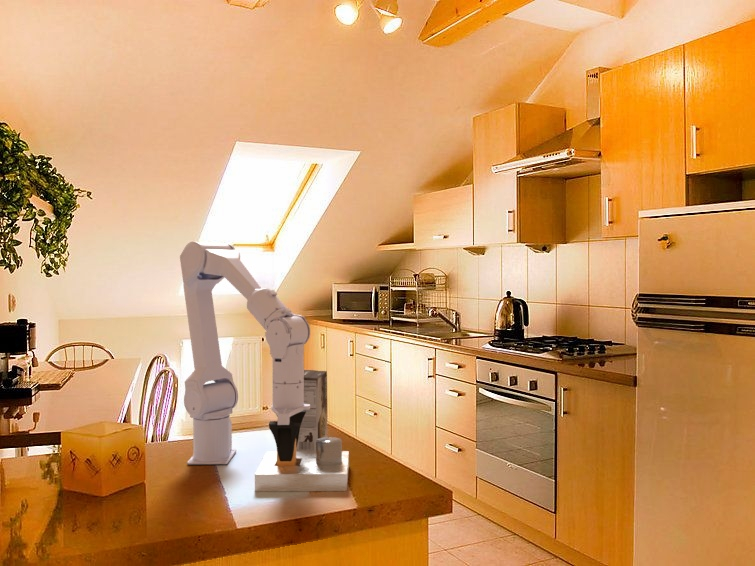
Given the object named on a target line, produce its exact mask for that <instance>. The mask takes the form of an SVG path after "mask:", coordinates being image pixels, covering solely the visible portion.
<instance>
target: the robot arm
mask: <svg viewBox="0 0 755 566" xmlns="http://www.w3.org/2000/svg"><path fill="white" fill-rule="evenodd" d="M182 250H183V251H182V252H181V253H180V255H179V261H180V268H181V276H182V283H183V293H184V299H185V309H186V314H187V315H186V316H187V323H188V330H189V337H190V345H191V353H192V360H193V366H194V367H193V369H194V370H193V372H192V373H191V374H190V375H189V376H188V377H187V378H186V380H185V381H184V389H185V390H184V397H183V405H184V408H185V411H186V412H187V413H188V414H189V418H191V419H192V441H193V444H192V445H193V447H192V448H193V449H192V450H193V454H192V455H191V457H190V459H188V460H187V462H186V464H187V465H227V464H228V463H230V461H231V460H232V458H233V457H234V455H235V454H236V452H237V449H236V448H233V440H232V438H233V435H232V432H233V431H232V430H233V427H232V425H233V424H232V420H231V416H230V415H232V414H233V409H234V408H235V407H236V406H237V404H238V401H239V392H238V388H237V386H236V385H235V382H234V378H233V374H232V372H230V371H229V370H228V369H227V368H226V367H224V366H223V365H222V357H221V352H220V351H221V350H220V343H219V342H220V341H219V335H218V328H217V327H218V326H217V320H216V313H215V307H214V299H213V293H212V291H213V289H214V288H215V286H216V285H218V284H219V283H220V282H222V281H223V279H225V280H227V282H229V283H230V284H231V285H232V286H233V287H234V288H235V289H236V290H237V291H238V292H239V293H240V294H241V295H242V296H243V297H244V298H245V299H246V300H247V301H246V309H247V311H249V313H250V314H251V315H252V317H254V319H255V320H256V321H257V322H258V324H260V325H261V327H262V328H263V329H264V330H265V332H264V335H265V340H266V343H267V344H268V346H269V354H270V357H271V358H272V404H271V411H272V412H273V413H274V415H276V418H277V420H270V421H269V423H268V427H269V431H270V432H271V434H272V436H273V439H274V441H275V446H276V451H278V456H279V460H280V461H291V460H292V457H293V452H294V445H295V439H296V447H297V443H298V438H299V432H300V427H301V423H302V420H303V418H304V415H305V414H306V410H309V409H310V404H304V370H305V369H304V367H305V363H304V361H305V359H304V358H305V355H304V354H305V353H304V351H305V344H307V343H308V341H309V339H310V336H311V327H310V324H309V322H308V321H307V319H306V317H305V316H303V315H300V314H295V313H294V312H292V310H291V309H290V308H289V307H287V306H286V305H285V304H284V303H283V301H282V300H281V299H280V298H279V297H278V296H277V295H278V292H277V291H275V290H273V289H270V288H268V287H265V288H262V287H261V286H260V284H259V283H258V282H257V281H256V279H255V278H254V277H253V275H252V274H251V273H250V271H249V270H248V269H247V267H246V266H245V265H244V263H243V262H242V261H241V253H240V252H239V251H238V250H237V249H236V248H235V246H233V244H231V243H229V242H222V243H221V242H219V243H218V242H198V241H194V240H193V241H190V242H188V243H187V244H186V245H185V247H184V248H183V249H182ZM211 381H212V382H211ZM208 382H210V383H208Z"/></svg>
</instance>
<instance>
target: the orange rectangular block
mask: <svg viewBox="0 0 755 566" xmlns="http://www.w3.org/2000/svg"><path fill="white" fill-rule="evenodd" d="M276 451H277V450H276ZM277 466H296V439H295V445H294V452H293V457H292V460H291V461H280V460H279V456H278V451H277Z"/></svg>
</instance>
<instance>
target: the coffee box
mask: <svg viewBox="0 0 755 566" xmlns="http://www.w3.org/2000/svg"><path fill="white" fill-rule="evenodd" d="M327 372H328V371H327V370H313V369H304V404H310V409H309V410H306V414H305V415H304V418H303V420H302V423H301V427H300V432H299V438H298V443H297V447H296V451H316V440H317V439H319V438H324V437H328V377H327V376H328V373H327Z"/></svg>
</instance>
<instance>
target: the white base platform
mask: <svg viewBox="0 0 755 566" xmlns="http://www.w3.org/2000/svg"><path fill="white" fill-rule="evenodd" d="M342 443H343V440H342V438H339V437H335V436H334V437H332V436H327V437H324V438H319V439H317V440H316V451H296V466H277V450H276V451H273V450H271V451H270V450H268V451H266V453H265V454H264V456H263V459H262V460H261V462H260V464H259V466H258V467H257V470H256V472H255V474H254V492H348V491H347V490H348V482H349V481H348V479H349V467H350V462H349V461H350V459H349V458H350V457H349V456H350V453H349V452H350V451H348V450H343V444H342Z"/></svg>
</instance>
